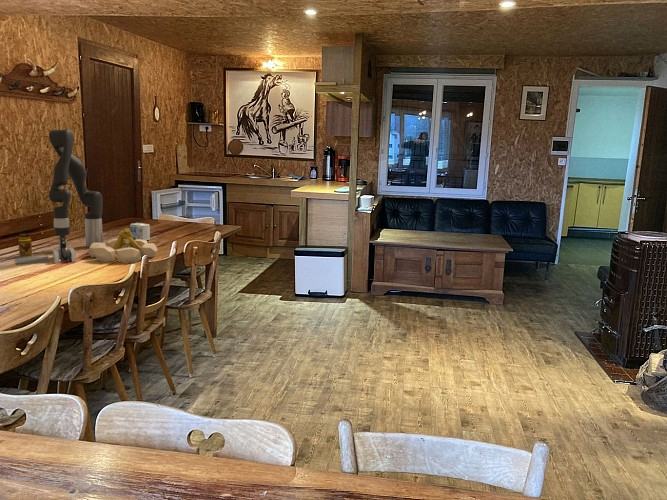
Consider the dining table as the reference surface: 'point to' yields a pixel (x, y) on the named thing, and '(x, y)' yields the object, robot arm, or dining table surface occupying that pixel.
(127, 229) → the campfire
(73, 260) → the c link
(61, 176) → the robot arm
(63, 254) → the peg stand
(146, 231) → the light bulb box
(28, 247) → the condiment
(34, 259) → the mat
